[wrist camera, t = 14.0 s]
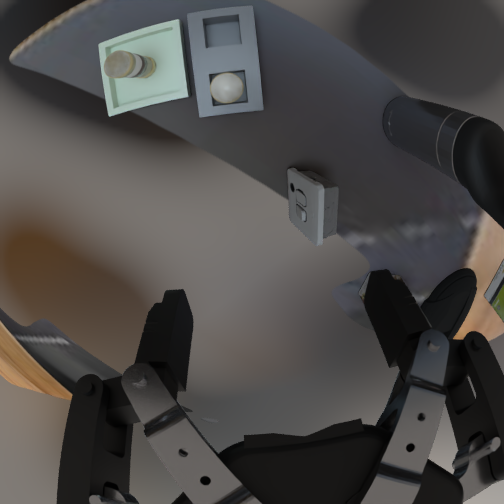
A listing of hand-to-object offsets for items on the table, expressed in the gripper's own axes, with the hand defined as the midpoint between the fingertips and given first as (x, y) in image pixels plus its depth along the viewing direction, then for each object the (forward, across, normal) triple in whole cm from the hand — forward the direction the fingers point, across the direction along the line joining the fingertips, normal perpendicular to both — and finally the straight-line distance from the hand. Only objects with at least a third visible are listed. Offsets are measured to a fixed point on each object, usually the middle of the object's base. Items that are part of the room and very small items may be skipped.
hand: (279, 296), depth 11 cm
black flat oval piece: (+33, -54, +52) cm, 82 cm away
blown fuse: (+31, +14, -14) cm, 37 cm away
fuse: (+31, +2, -8) cm, 32 cm away
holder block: (+32, +2, -12) cm, 34 cm away
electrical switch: (+32, -8, +9) cm, 34 cm away
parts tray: (+32, +14, -14) cm, 37 cm away
